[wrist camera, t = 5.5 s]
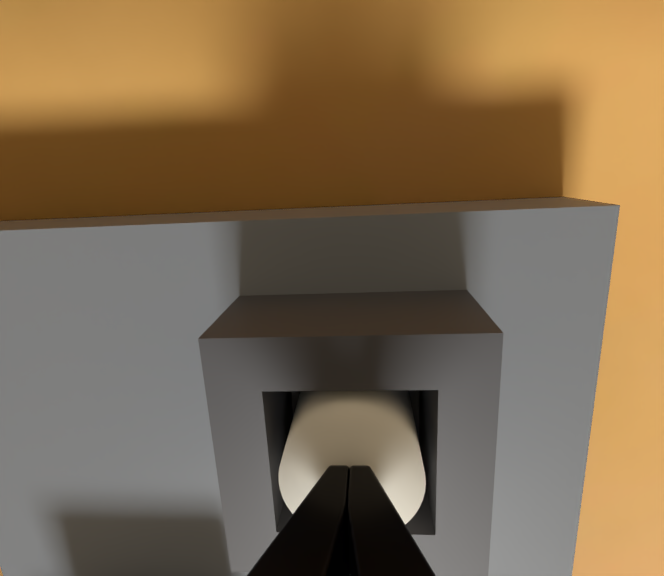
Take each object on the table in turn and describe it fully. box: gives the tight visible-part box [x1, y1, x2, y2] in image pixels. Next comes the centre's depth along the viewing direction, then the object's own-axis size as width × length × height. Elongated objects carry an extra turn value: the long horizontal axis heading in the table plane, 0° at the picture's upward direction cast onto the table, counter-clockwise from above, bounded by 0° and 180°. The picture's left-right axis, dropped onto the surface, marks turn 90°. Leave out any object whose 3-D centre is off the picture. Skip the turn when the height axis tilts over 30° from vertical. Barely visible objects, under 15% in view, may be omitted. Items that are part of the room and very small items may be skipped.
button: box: [278, 390, 426, 524], centre depth 10 cm, size 3×3×3 cm
